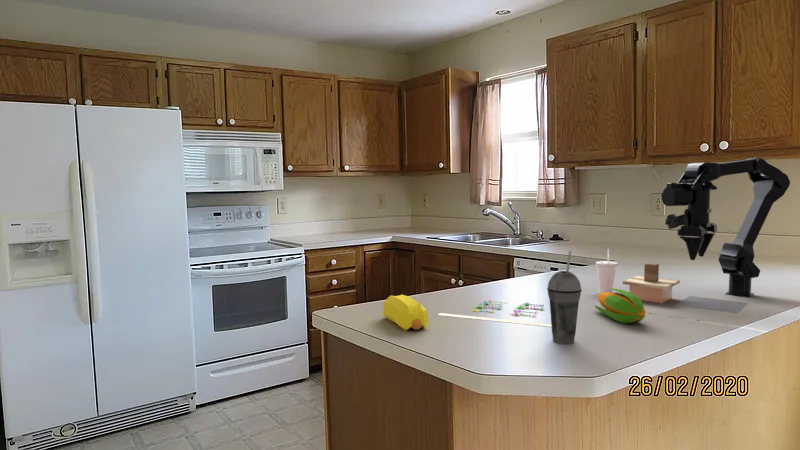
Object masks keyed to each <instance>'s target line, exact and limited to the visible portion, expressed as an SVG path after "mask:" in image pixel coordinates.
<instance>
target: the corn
mask: <svg viewBox="0 0 800 450" xmlns="http://www.w3.org/2000/svg"><path fill="white" fill-rule="evenodd" d="M610 289H612V290H613V291H615V292H612V293H610V292H602V293H599V294H598V296H597V301H598V302H599V304H600V306H602V307H603V308H602V307H600V306H598V305H594V307H595V308H596V309H597V310H598V311H600V312H601V313H602V314H603V315H605V316H607V317H608V318H610V319H612V320H615V321H616V322H619V323H621V324H624V325H625V324H630V323H632V324H637V323H638V322H641V321H643V320H644V318H645V317H646V312H647V311H646V309H645V307H644V304H643V301H641V299H640V298H639V297H637V296H635V295H633V294H632V293H630V292H629V291H626V290H623V289H618V288H614V287H613V288H610Z"/></svg>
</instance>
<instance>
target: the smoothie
mask: <svg viewBox="0 0 800 450" xmlns="http://www.w3.org/2000/svg"><path fill="white" fill-rule="evenodd" d="M606 253H607V254H606V255H607V260H599V261H598V260H597V261H596V262H595V266H596V272H597V284H598V292H599V294H601V293H602V292H610V293H613V291H614V290H612V289H610V288H614V285H615V284H614V283H615V276H616V270H617V267H618V262H615V261H610V248H607V252H606Z"/></svg>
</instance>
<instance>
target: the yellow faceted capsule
mask: <svg viewBox="0 0 800 450" xmlns="http://www.w3.org/2000/svg"><path fill="white" fill-rule="evenodd" d="M382 315H383V316H384V317H385V318H386V319H387V320H389V321H391V322H393V323H395V324H397V325H398V326H399V327H400V328H401V329H402V330H403V331H408V330H409V329H410V328H411V329H413V330H414V331H417V330H420V329H425V328H427V325H428V324H429V317H428V311H427V309H426V307H424V306H423V304H421V303H420V302H418V301H417V300H415V299H414V298H413V297H411V296H408V295H404V294H400V295H389V296H388V297H387V298H386V299H385V301H383V309H382Z"/></svg>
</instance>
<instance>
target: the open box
mask: <svg viewBox="0 0 800 450" xmlns="http://www.w3.org/2000/svg"><path fill="white" fill-rule="evenodd" d="M628 292H630V293H632V294H633V295H635V296H637V297H639V298H640V299H641V301H642V302H647V303H654V304H661V305H662V304H663V305H664V303H666V302H668V301H670V300H672V299H673V287H671V288H669V289H660V288H651V287H643V286H634V285H629V291H628Z"/></svg>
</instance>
